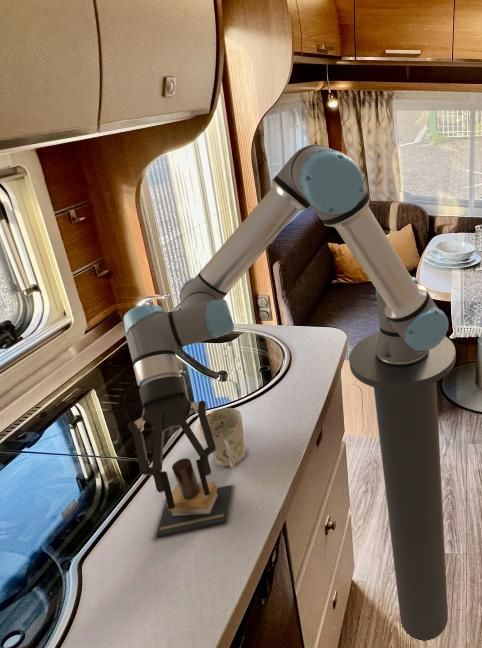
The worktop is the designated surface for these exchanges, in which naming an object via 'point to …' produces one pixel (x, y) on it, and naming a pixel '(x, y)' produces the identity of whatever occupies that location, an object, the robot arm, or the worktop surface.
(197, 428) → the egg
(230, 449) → the mug
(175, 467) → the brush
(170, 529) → the counter mat
